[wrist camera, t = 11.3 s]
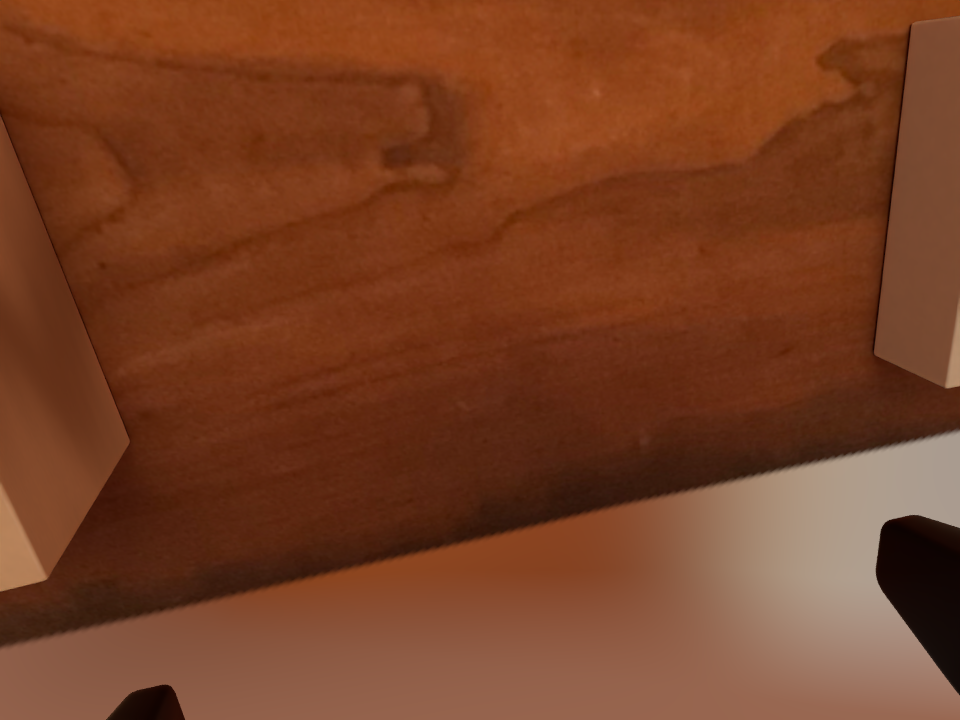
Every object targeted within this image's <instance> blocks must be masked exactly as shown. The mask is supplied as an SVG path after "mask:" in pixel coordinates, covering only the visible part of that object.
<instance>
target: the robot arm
mask: <svg viewBox="0 0 960 720" xmlns="http://www.w3.org/2000/svg"><path fill="white" fill-rule="evenodd" d="M876 577H877V581H878V584H879V585H880V588H881V590H882V591H883V593H884V594H885V595H886V597H887V598H888V599H889V601H890V602H891V604H892V605H893V606H894V608H895V609H896V610H897V612H898V613H899V614H900V616H901V617H902V619H903V620H904V621H905V622H906V624H907V625H908V627H909V628H910V629H911V631H912V632H913V633H914V635H915V636H916V637H917V639H918V640H919V642H920V643H921V644H922V646H923V647H924V648H925V650H926V651H927V653H928V654H929V655H930V657H931V658H932V659H933V661H934V662H935V663H936V665H937V666H938V668H939V669H940V670H941V671H942V673H943V674H944V675H945V677H946V678H947V680H948V681H949V682H950V684H951V685H952V686H953V687H954V689H955V690H956V691H957V693H959V695H960V528H958V527H955V526H951V525H948V524H945V523H942V522H939V521H935V520H932V519H929V518H926V517H922V516H919V515H909V516H905V517H901V518H897V519H892V520H889V521H887V522H885V524H884V525H883V527H882V529H881V533H880V541H879V549H878V556H877V563H876ZM106 720H185V718H184V715H183V713H182V710H181V707H180V704H179V702H178V699H177V696H176V693H175V691H174V690H173V689H172V687H171V686H169V685H159V686H155V687H151V688H146V689H142V690H137V691H135V692H132V693H131V694H129V695H128V696H127V697H126V698H125V699H124V700H123V701H122V702H121V704H120V705H119V706H118V707H117V708H116V709H115V710H114V712H113V713H112V714H111V715H110V716H109V717H108V718H107V719H106Z"/></svg>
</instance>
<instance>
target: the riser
mask: <svg viewBox="0 0 960 720" xmlns="http://www.w3.org/2000/svg"><path fill="white" fill-rule="evenodd" d="M129 443H130V440H129V437H128V435H127V432H126V430H125V427H124V425H123V422H122V420H121V417H120V415H119V412H118V410H117V407H116V405H115V402H114V400H113V397H112V394H111V392H110V389H109V387H108V384H107V382H106V379H105V377H104V374H103V372H102V369H101V367H100V364H99V362H98V359H97V357H96V354H95V352H94V349H93V347H92V344H91V342H90V339H89V337H88V334H87V332H86V329H85V327H84V324H83V322H82V319H81V317H80V314H79V312H78V309H77V306H76V304H75V301H74V299H73V296H72V294H71V291H70V289H69V286H68V284H67V281H66V279H65V276H64V274H63V271H62V269H61V266H60V264H59V261H58V259H57V256H56V254H55V251H54V249H53V246H52V244H51V241H50V239H49V236H48V234H47V231H46V229H45V226H44V224H43V221H42V218H41V216H40V213H39V211H38V208H37V206H36V203H35V201H34V198H33V196H32V193H31V191H30V188H29V186H28V183H27V181H26V178H25V176H24V173H23V171H22V168H21V166H20V163H19V161H18V158H17V156H16V153H15V151H14V148H13V146H12V143H11V141H10V138H9V136H8V133H7V130H6V128H5V125H4V123H3V120H2V118H1V115H0V592H1V591H5V590H9V589H13V588H17V587H21V586H25V585H29V584H33V583H37V582H41V581H45V580H46V579H48V578H49V576H50V574H51V573H52V571H53V569H54V568H55V566H56V564H57V563H58V561H59V559H60V558H61V556H62V554H63V553H64V551H65V549H66V548H67V546H68V544H69V543H70V541H71V539H72V538H73V536H74V534H75V533H76V531H77V529H78V528H79V526H80V525H81V523H82V521H83V520H84V518H85V516H86V515H87V513H88V511H89V510H90V508H91V506H92V505H93V503H94V501H95V500H96V498H97V496H98V495H99V493H100V491H101V490H102V488H103V486H104V485H105V483H106V481H107V480H108V478H109V476H110V475H111V473H112V471H113V470H114V468H115V467H116V465H117V463H118V462H119V460H120V458H121V457H122V455H123V453H124V452H125V450H126V448H127V447H128V445H129Z"/></svg>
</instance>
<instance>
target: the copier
mask: <svg viewBox="0 0 960 720" xmlns="http://www.w3.org/2000/svg"><path fill="white" fill-rule="evenodd" d="M874 355H875V356H877V357H879V358H882V359H884V360H886V361H888V362H890V363H892V364H895V365H897V366H899V367H901V368H903V369H905V370H907V371H910V372H912V373H914V374H916V375H918V376H920V377H922V378H925V379H927V380H929V381H931V382H933V383H935V384H938V385H940V386H942V387H944V388H952V387H957V386H960V16H955V17H948V18H941V19H934V20H927V21H920V22H915V23H913V24H912V26H911V33H910V42H909V51H908V60H907V68H906V77H905V86H904V94H903V103H902V112H901V120H900V129H899V138H898V147H897V155H896V164H895V173H894V181H893V190H892V199H891V208H890V216H889V225H888V234H887V242H886V251H885V260H884V268H883V277H882V286H881V295H880V303H879V312H878V321H877V329H876V338H875V347H874Z"/></svg>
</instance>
